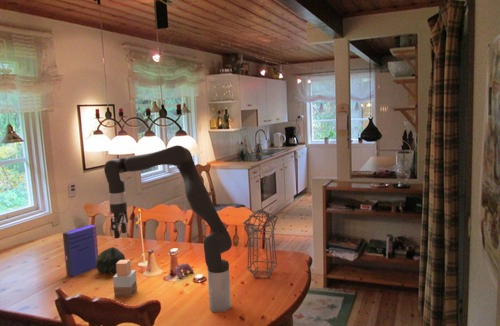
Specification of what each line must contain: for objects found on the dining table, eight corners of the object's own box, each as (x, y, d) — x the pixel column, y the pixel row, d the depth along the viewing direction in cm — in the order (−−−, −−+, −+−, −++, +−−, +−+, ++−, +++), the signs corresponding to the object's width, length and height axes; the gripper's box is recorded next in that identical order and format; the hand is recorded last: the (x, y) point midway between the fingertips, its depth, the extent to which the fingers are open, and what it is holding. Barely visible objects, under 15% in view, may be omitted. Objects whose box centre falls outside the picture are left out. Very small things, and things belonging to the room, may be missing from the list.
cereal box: (93, 265, 236) (90, 224, 233) (99, 266, 234) (95, 225, 231) (66, 275, 222) (62, 232, 219) (72, 277, 219) (68, 233, 216)
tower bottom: (131, 297, 192) (130, 287, 191) (114, 297, 193) (113, 287, 192) (137, 290, 200) (136, 280, 199) (121, 290, 201) (120, 280, 200)
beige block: (127, 275, 192) (126, 263, 192) (117, 275, 193) (116, 263, 192) (131, 271, 197) (130, 259, 197) (121, 271, 198) (120, 259, 197)
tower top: (130, 287, 192) (129, 276, 191) (113, 287, 192) (113, 277, 192) (136, 280, 199) (135, 270, 199) (120, 280, 200) (119, 270, 200)
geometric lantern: (280, 270, 217) (278, 206, 211) (273, 283, 202) (272, 214, 196) (251, 268, 221) (249, 205, 216) (243, 280, 206) (240, 213, 201)
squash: (96, 258, 230) (95, 244, 220) (124, 255, 236) (124, 241, 225) (97, 282, 222) (96, 268, 211) (125, 278, 227) (126, 264, 216)
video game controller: (189, 274, 220) (184, 262, 222) (194, 272, 218) (190, 259, 219) (176, 280, 213) (171, 268, 214) (181, 278, 210) (176, 265, 211)
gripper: (119, 204, 184) (122, 240, 186) (131, 198, 198) (133, 231, 200) (103, 205, 184) (106, 240, 186) (116, 198, 198) (118, 231, 200)
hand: (120, 235), depth 193 cm, fingers open, 8 cm apart
